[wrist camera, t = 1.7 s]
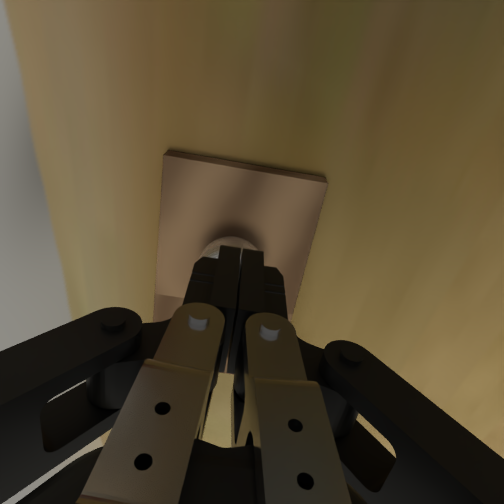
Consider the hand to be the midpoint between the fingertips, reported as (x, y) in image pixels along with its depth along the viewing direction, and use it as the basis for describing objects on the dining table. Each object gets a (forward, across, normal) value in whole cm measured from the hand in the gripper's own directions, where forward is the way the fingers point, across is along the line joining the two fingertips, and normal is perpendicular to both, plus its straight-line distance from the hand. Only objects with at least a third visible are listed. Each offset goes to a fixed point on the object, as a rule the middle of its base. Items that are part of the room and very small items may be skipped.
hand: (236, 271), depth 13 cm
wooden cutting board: (+17, 0, +11) cm, 21 cm away
